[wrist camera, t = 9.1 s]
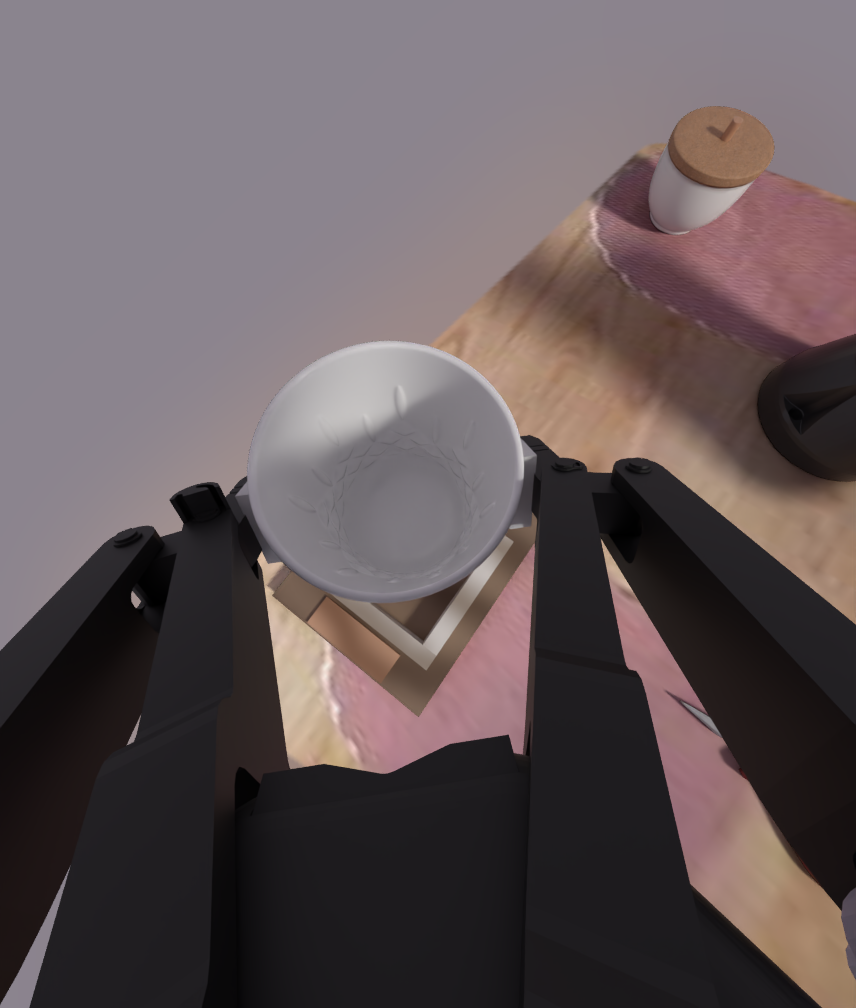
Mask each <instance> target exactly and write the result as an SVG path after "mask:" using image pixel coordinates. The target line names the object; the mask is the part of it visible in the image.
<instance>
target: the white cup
mask: <svg viewBox="0 0 856 1008" xmlns="http://www.w3.org/2000/svg"><path fill="white" fill-rule="evenodd" d="M523 480H524V456H523V448H522V443H521V438H520V435H519V431H518V428H517V426H516V423H515V420H514V418H513V416H512V414H511V412H510V410H509V408H508V406H507V405H506V403H505V401H504V400H503V398H502V397H501V396H500V394H499V393H498V392H497V390H496V389H495V388H494V387H493V386H492V385H491V383H490V382H489V381H488V380H487V379H486V378H485V377H483V376H482V375H481V374H480V373H479V372H478V371H476V370H475V369H474V368H473V367H471V366H470V365H468V364H467V363H465V362H464V361H462V360H460V359H459V358H457V357H455V356H453V355H451V354H449V353H446V352H444V351H442V350H439V349H436V348H433V347H430V346H426V345H422V344H418V343H411V342H404V341H375V342H367V343H361V344H357V345H352V346H349V347H346V348H343V349H340V350H337V351H334V352H332V353H330V354H328V355H325V356H323V357H322V358H320V359H318V360H316V361H314V362H313V363H311V364H309V365H308V366H306V367H305V368H304V369H302V370H301V371H300V372H298V373H297V374H296V375H295V376H294V377H292V378H291V379H290V380H289V381H288V382H287V383H286V384H285V385H284V386H283V387H282V388H281V389H280V391H279V392H278V393H277V394H276V395H275V397H274V398H273V399H272V401H271V402H270V404H269V405H268V407H267V408H266V410H265V412H264V414H263V415H262V418H261V419H260V421H259V423H258V426H257V428H256V431H255V433H254V436H253V440H252V443H251V447H250V452H249V458H248V467H247V485H248V494H249V500H250V504H251V508H252V512H253V515H254V518H255V520H256V523H257V525H258V527H259V529H260V532H261V533H262V535H263V537H264V539H265V540H266V542H267V544H268V545H269V547H270V548H271V549H272V551H273V552H274V553H275V554H276V556H277V557H278V558H279V559H280V560H281V561H282V562H283V563H284V564H285V565H286V566H287V567H288V568H289V569H290V570H291V571H292V572H294V573H295V574H296V575H298V576H299V577H300V578H302V579H303V580H305V581H306V582H308V583H309V584H311V585H313V586H315V587H317V588H319V589H321V590H323V591H325V592H327V593H330V594H332V595H335V596H338V597H341V598H345V599H349V600H354V601H359V602H367V603H396V602H404V601H410V600H415V599H419V598H422V597H426V596H429V595H432V594H434V593H437V592H439V591H441V590H444V589H446V588H448V587H450V586H452V585H453V584H455V583H457V582H459V581H460V580H462V579H463V578H465V577H466V576H468V575H469V574H470V573H472V572H473V571H474V570H475V569H477V568H478V567H479V566H480V565H481V564H482V563H483V562H484V561H485V560H486V559H487V558H488V557H489V556H490V555H491V554H492V553H493V551H494V550H495V549H496V548H497V546H498V545H499V544H500V542H501V541H502V539H503V538H504V536H505V534H506V533H507V531H508V529H509V527H510V525H511V523H512V521H513V519H514V516H515V514H516V511H517V508H518V505H519V502H520V498H521V493H522V488H523Z"/></svg>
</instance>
